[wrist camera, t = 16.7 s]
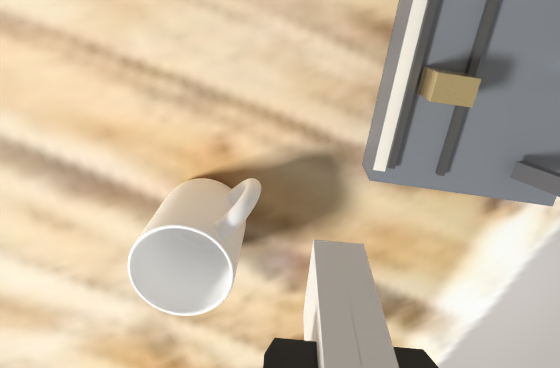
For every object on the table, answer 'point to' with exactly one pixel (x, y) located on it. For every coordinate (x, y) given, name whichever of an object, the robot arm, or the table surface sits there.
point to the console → (488, 103)
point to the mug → (192, 246)
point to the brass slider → (448, 87)
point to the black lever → (537, 177)
